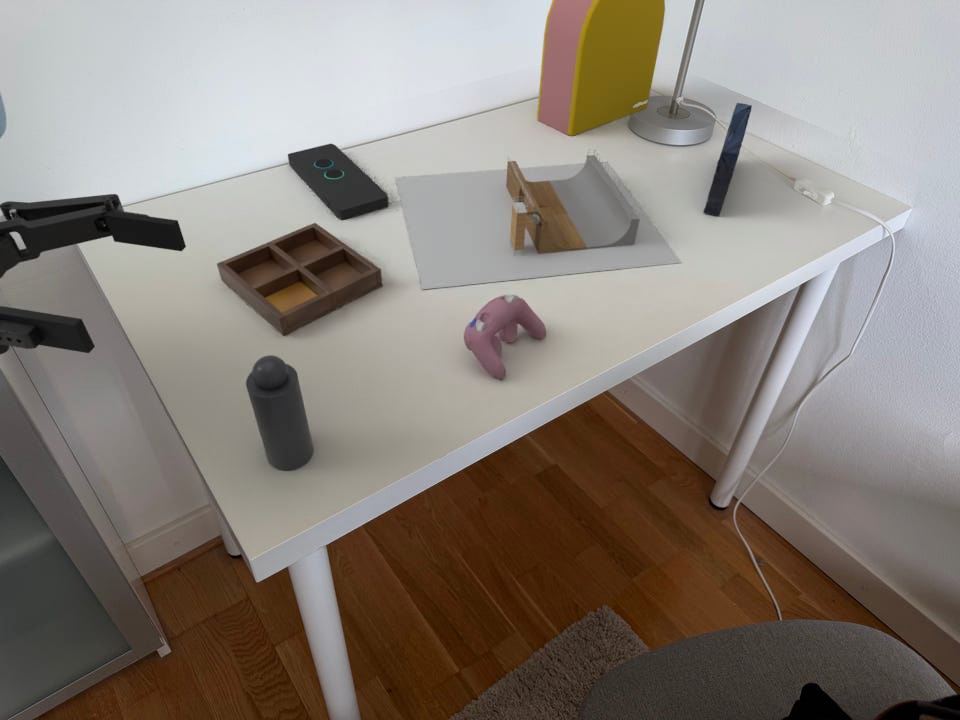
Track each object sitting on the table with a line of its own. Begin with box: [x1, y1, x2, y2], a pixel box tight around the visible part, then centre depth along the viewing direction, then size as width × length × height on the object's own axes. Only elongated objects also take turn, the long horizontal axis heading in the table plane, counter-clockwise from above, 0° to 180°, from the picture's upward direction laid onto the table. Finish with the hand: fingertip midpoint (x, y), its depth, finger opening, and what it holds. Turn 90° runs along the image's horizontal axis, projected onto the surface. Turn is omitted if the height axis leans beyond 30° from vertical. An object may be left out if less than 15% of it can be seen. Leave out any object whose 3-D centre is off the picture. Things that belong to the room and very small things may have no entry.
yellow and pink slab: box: [536, 0, 666, 137], centre depth 118 cm, size 21×9×26 cm, turn 130°
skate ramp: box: [394, 149, 682, 290], centre depth 97 cm, size 29×35×8 cm
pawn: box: [245, 355, 314, 471], centre depth 62 cm, size 4×4×12 cm
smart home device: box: [287, 143, 389, 221], centre depth 105 cm, size 8×2×20 cm
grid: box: [216, 222, 383, 337], centre depth 86 cm, size 14×14×3 cm
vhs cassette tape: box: [703, 102, 753, 217], centre depth 104 cm, size 18×3×10 cm, turn 157°
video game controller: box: [463, 294, 547, 380], centre depth 77 cm, size 10×5×7 cm, turn 144°
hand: (137, 281), depth 55 cm, fingers open, 13 cm apart
